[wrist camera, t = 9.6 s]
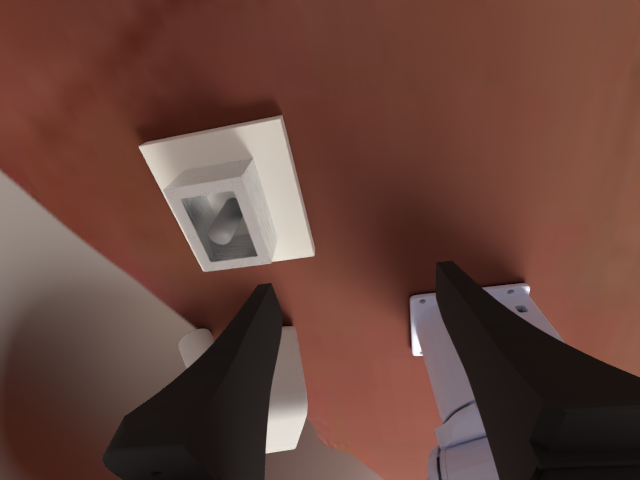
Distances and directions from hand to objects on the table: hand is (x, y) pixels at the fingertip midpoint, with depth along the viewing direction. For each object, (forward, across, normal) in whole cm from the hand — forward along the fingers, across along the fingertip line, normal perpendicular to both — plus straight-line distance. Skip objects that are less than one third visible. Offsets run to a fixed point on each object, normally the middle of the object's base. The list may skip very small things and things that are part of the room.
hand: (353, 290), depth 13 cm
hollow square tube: (+8, +8, -1) cm, 11 cm away
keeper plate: (+9, +8, -1) cm, 12 cm away
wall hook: (+10, +12, +14) cm, 21 cm away
